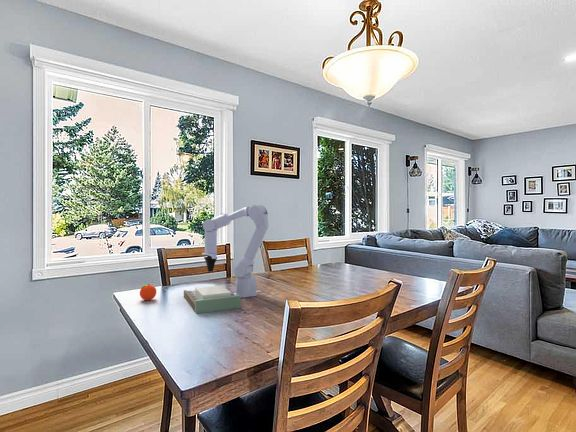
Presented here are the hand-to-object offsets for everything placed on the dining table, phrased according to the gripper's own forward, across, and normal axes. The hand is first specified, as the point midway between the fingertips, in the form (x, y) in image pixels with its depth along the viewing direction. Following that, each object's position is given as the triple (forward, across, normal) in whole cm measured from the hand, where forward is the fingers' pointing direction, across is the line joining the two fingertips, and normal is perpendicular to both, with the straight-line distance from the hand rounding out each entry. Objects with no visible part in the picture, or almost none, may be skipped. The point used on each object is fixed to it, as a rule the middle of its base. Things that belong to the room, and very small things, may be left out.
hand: (210, 271), depth 162 cm
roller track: (+10, +15, -4) cm, 19 cm away
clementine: (+11, +2, -29) cm, 31 cm away
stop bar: (+10, +29, -4) cm, 31 cm away
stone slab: (+7, +20, -4) cm, 22 cm away
